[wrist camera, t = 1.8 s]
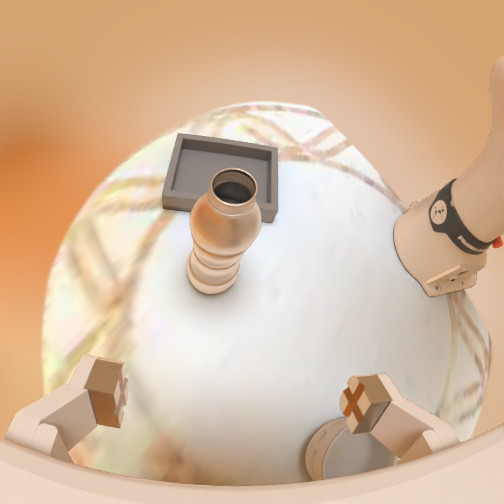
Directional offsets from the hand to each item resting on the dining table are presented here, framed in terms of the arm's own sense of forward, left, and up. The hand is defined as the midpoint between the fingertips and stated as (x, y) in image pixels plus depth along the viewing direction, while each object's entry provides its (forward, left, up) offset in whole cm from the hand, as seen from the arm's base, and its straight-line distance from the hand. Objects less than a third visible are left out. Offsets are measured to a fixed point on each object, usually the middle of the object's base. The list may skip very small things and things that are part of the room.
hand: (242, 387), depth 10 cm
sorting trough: (0, -29, -28) cm, 40 cm away
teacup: (-17, +11, -28) cm, 35 cm away
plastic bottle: (0, -14, -28) cm, 32 cm away
